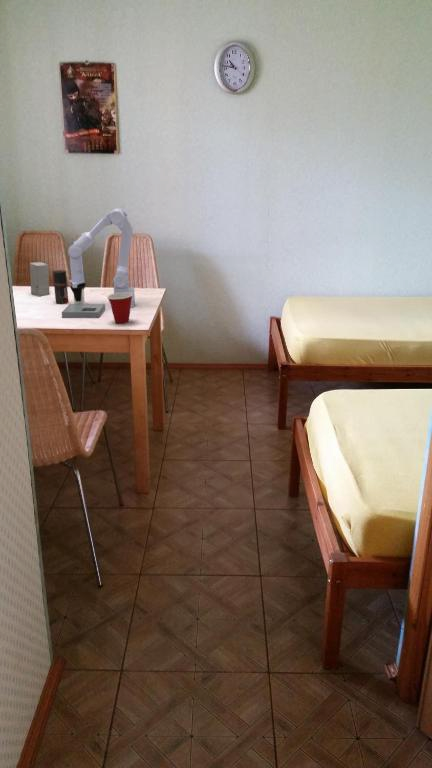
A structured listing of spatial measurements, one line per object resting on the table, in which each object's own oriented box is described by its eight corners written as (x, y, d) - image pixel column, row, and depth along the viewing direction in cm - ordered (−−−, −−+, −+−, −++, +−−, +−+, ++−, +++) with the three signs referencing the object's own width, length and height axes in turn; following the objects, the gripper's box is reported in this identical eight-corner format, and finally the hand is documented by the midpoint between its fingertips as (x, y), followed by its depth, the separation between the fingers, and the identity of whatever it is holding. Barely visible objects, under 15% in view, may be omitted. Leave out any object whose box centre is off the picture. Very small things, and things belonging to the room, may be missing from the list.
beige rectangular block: (84, 305, 293) (83, 288, 290) (83, 307, 289) (81, 290, 286) (76, 305, 293) (75, 288, 290) (74, 307, 289) (73, 290, 286)
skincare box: (30, 294, 315) (27, 263, 310) (43, 292, 320) (40, 261, 314) (38, 296, 309) (35, 265, 304) (51, 294, 314) (48, 263, 308)
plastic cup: (109, 319, 268) (108, 291, 264) (134, 318, 269) (133, 291, 265) (107, 325, 258) (105, 297, 254) (133, 325, 259) (131, 297, 255)
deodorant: (65, 304, 294) (62, 272, 289) (53, 303, 295) (50, 272, 290) (70, 301, 300) (67, 270, 295) (59, 301, 301) (56, 270, 296)
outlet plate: (105, 309, 285) (104, 303, 284) (98, 317, 270) (98, 312, 269) (70, 309, 285) (70, 303, 285) (62, 317, 270) (61, 312, 270)
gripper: (71, 268, 292) (74, 296, 297) (64, 273, 278) (67, 303, 283) (86, 268, 292) (88, 296, 297) (80, 273, 278) (82, 303, 283)
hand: (79, 300), depth 290 cm, fingers closed on beige rectangular block, 4 cm apart
